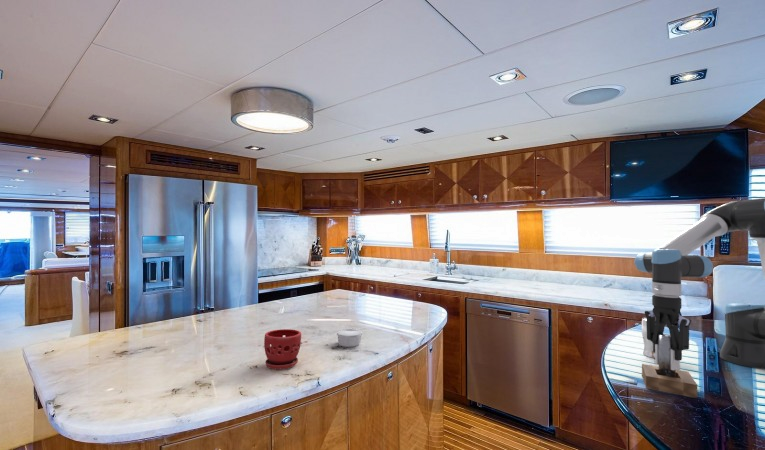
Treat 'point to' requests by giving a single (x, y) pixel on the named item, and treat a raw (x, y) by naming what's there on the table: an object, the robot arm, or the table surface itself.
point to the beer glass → (647, 341)
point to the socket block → (669, 381)
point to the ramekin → (349, 337)
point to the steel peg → (665, 355)
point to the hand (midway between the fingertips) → (667, 366)
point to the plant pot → (282, 348)
